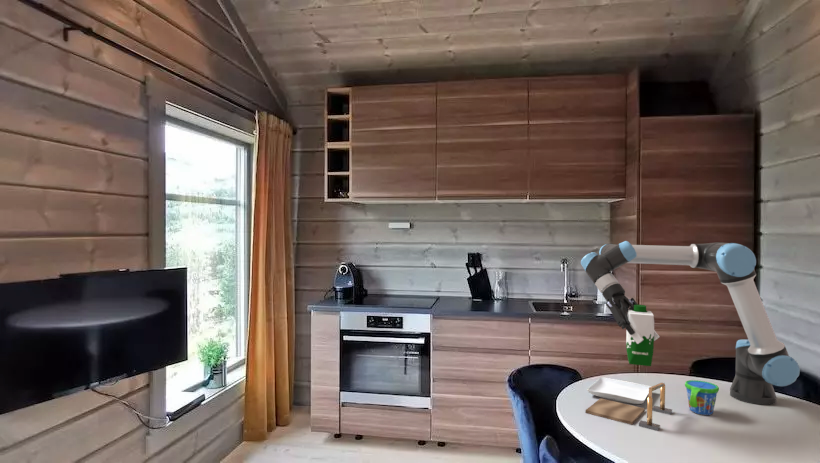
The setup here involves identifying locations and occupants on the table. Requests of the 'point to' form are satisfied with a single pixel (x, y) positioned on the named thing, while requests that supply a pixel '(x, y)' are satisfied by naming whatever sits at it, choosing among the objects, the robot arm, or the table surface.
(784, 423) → the table surface
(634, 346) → the soya milk
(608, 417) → the walnut board
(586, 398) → the table surface
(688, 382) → the snack cup
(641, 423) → the copper wire
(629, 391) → the salad plate
